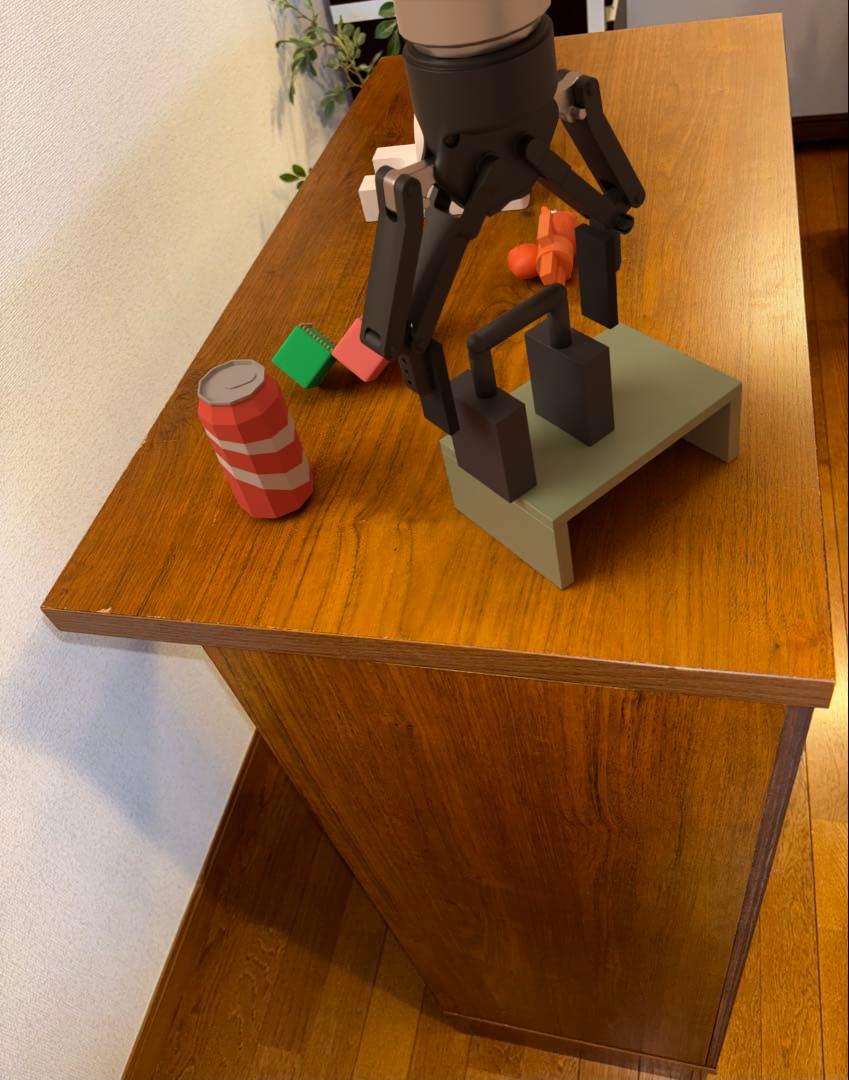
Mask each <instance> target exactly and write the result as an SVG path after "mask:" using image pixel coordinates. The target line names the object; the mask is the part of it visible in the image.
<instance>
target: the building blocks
mask: <svg viewBox="0 0 849 1080" xmlns="http://www.w3.org/2000/svg"><path fill="white" fill-rule="evenodd" d="M362 317H363V314H361V315H360V316H358V317H357V318H356V319H355V320H354V321H353V322H352V324H351V325H350V327H349V328H348V329H347V331H346V332H345V333H344V335H343V336H342V338H341V339H340V340H339V341H338V343H337V342H336V341H334V339H331V336H327V334H326V333H324V331H321V329H320V328H318V326H316V325H314V323H313V322H306V323H305V322H300V324H299V325H296V326H295V327H294V328H293V329H292V331H291V332H290V334H289V335H288V337H287V338H286V339H285V340H284V342H283V344H282V345H281V346H280V347H279V349H278V350H277V351H276V353H275V355H274V356H273V357H272V359H271V362H272V364H274V366H276V367H277V368H278V369H280V370H281V371H282V372H284V374H285V375H287V376H288V377H290V378H291V379H292V381H294V382H296V383H297V384H298V385H299V386H301V387H302V388H303V389H304V390H308V389H312V388H313V389H314V388H317V387H319V385H320V384H321V383H322V382H323V380H324V379H325V378H326V376H327V375H328V374H329V372H330V371H331V369H332V368H333V367H334V365H335V364H336V363H337V361H338V362H339V363H341V364H342V365H343V366H344V367H346V368H347V369H348V370H349V371H351V372H352V373H354V375H356V377H358V378H359V379H360V380H362V381H363V382H364V383H369V382H373V381H376V380H377V379H378V378H379V376H380V375H381V374H382V372H383V371H384V370H385V368H386V367H387V366H388V364H389V363H390V362H391V361H387V360H386V359H384V358H383V357H381V356H380V355H378V354H377V353H375V352H374V351H372V350H371V349H369V348H368V347H367V346H365V345H364V344H362V343H361V341H360V330H361V323H362ZM313 326H314V327H313ZM411 326H412V323H411ZM412 327H413V326H412ZM323 334H324V335H323ZM329 340H330V341H329ZM333 342H334V343H333Z"/></svg>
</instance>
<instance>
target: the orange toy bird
mask: <svg viewBox="0 0 849 1080" xmlns="http://www.w3.org/2000/svg"><path fill="white" fill-rule="evenodd" d="M577 218H578V216H577V215H576V214H575V213H574V212H572V211H569V210H567V211H565V210H564V211H563V210H557V209H555V208H554V209H552V210H551V209H550V208H549V207H548V206H547V205H542V206H541V208H540V214H539V218H538V227H537V236H536V240H537V244H535V243H528V242H526V243H525V242H524V243H522V244H519V245H517V246H515V247H513V248H512V249H510V251H509V252H508V254H507V257H506V261H507V266H508V267H507V268H508V270H509V271H510V272H511V273H512V274H513V276H514V277H515V278H517V279H518V280H532V279H535V278H537V277H539V278H540V281H541V282H542V284H543V286H545V287H546V286H548V285H550V284H552V283H561V284H562V285H564V286H565V287H566V281H569V280H571V278H572V272H573V266H574V256H575V255H576V254H577V253H576V241H575V229H574V228H575V227H577V226H579V225H580V224H582V223H581V222H580V221H579V220H577Z"/></svg>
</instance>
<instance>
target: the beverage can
mask: <svg viewBox="0 0 849 1080" xmlns="http://www.w3.org/2000/svg"><path fill="white" fill-rule="evenodd" d="M197 385H198V386H197V397H198V398H199V401H198V409H197V416H198V418H199V420H200V423H201V425H202V427H203V429H204V431H205V434H206V435H207V438H208V440H209V442H210V444H211V446H212V449H213V451H214V453H215V455H216V457H217V459H218V462H219V464H220V466H221V469H222V470H223V472H224V475H225V477H226V479H227V481H228V483H229V485H230V488H231V490H232V493H233V495H234V496H235V499H236V501H237V503H238V505H239V507H240V508H241V510H243V511H245V512H246V513H247V514H248V515H249V516H251V517H252V518H254V519H278V518H280V517H282V516H285V515H288V514H290V513H291V512H294V511H298V510H299V509H300V508H301V507H302V506H303V505H304V503H306V501H307V500H308V499H309V498H310V496H311V495H312V494H313V493H314V474H313V472H312V469H311V467H310V464H309V460H308V458H307V456H306V453H305V449H304V448H303V445H302V442H301V439H300V437H299V434H298V432H297V428H296V425H295V423H294V421H293V418H292V415H291V412H290V410H289V407H288V404H287V401H286V399H285V397H284V394H283V391H282V389H281V386H280V383H279V381H278V380H277V379H275V378H274V377H273V376H271V375H269V374H268V373H267V372H266V368H265V366H264V365H262V364H260V363H259V362H258V361H255V360H254V359H253V358H252V359H231V360H229V361H226V362H224V363H221V364H219V365H217V366H214V367H212V368H210V369H209V371H208V372H207V373H206V374H205V375H203V377H201V379H200V380H199V381H198V384H197Z"/></svg>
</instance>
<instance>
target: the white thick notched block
mask: <svg viewBox="0 0 849 1080" xmlns="http://www.w3.org/2000/svg"><path fill="white" fill-rule="evenodd" d="M413 135H414V137H413V138H414V143H411V144H400V145H392V146H382V147H377V148H376V150H375V152H374V154H373V156H372V159H371V161H372V165H373V169H374V174H370V175H364V177H363V179H362V181H361V184H360V186H359V188H358V196H359V199H360V203H361V207H362V208H361V209H362V211H363V215H364V219H365V222H366V223H369V222H370V223H371V222H377V221H378V215H379V208H378V201H377V193H376V186H375V175H376V172H377V170H378V169H379V168H380V167H382V166H384V165H388V166H390V167H392V168H395V169H398V170H399V169H402V168H404V167H407V166H409V165H412V164H414V163H417V162H419V161H421V157H422V153H423V146H424V138H423V134H422V131H421V128H420V126H419V124H418V121H417V119H416V116H415V114H414V113H413ZM432 189H433V185H432V186H431V187H430V189H429V190H428V193H427V198H429V197H430V194H431V192H432ZM530 199H531V194H529V195H527V196H525V197H524V198H522V199H518V200H514V201H511V202H510V203H509V204H508V205H506V206H505V207H504V208H503V209H502V210H501V211H500V212H507V211H517V210H524V209H527V208H528V207H529V204H530ZM449 211H450V213H451V214H453V215H455V216H456V215H462V213H463V211H464V209H462V208H460V207H459V206H458V205H456V204H455V203H454V202H453V201H452V202H451V205H450V208H449ZM424 212H425V210H424ZM424 218H425V216H424Z"/></svg>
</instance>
